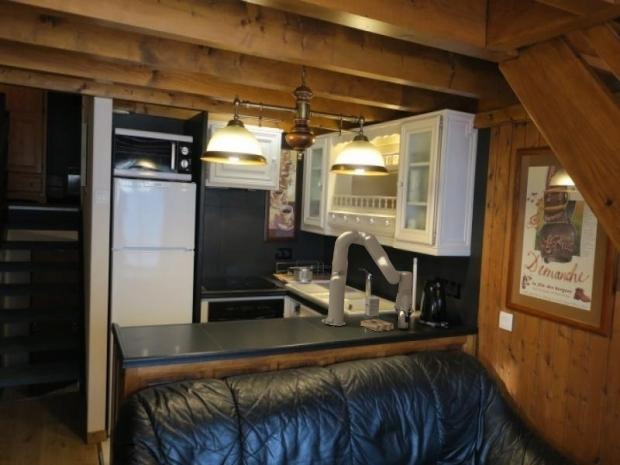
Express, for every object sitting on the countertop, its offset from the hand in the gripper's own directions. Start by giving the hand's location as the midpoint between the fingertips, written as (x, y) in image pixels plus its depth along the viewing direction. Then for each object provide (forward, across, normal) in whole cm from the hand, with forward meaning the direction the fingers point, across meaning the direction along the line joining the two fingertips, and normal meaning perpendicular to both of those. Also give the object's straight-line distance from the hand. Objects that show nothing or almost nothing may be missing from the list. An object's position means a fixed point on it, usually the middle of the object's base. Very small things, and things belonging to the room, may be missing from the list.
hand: (403, 320), depth 299 cm
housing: (+5, -10, -12) cm, 17 cm away
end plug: (+4, 0, 0) cm, 4 cm away
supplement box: (+6, -36, +8) cm, 37 cm away
